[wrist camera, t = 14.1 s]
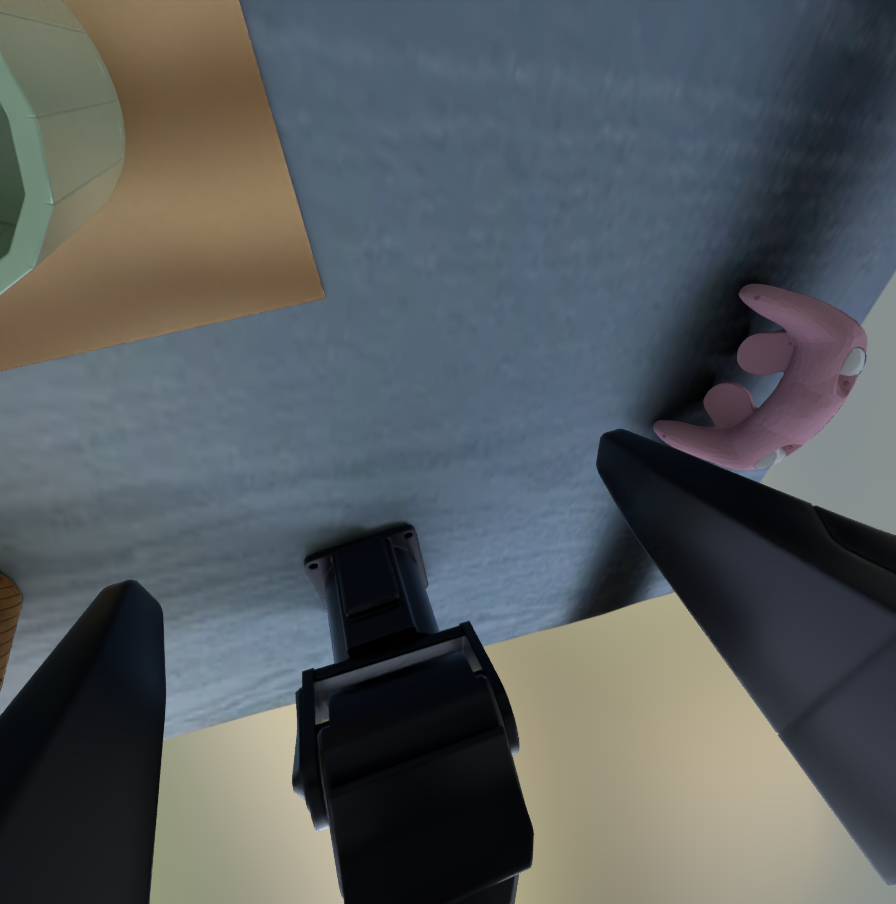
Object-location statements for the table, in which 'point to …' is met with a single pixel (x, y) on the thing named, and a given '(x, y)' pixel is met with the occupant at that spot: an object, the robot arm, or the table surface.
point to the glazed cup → (51, 132)
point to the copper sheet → (171, 194)
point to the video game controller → (798, 393)
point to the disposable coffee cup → (8, 619)
